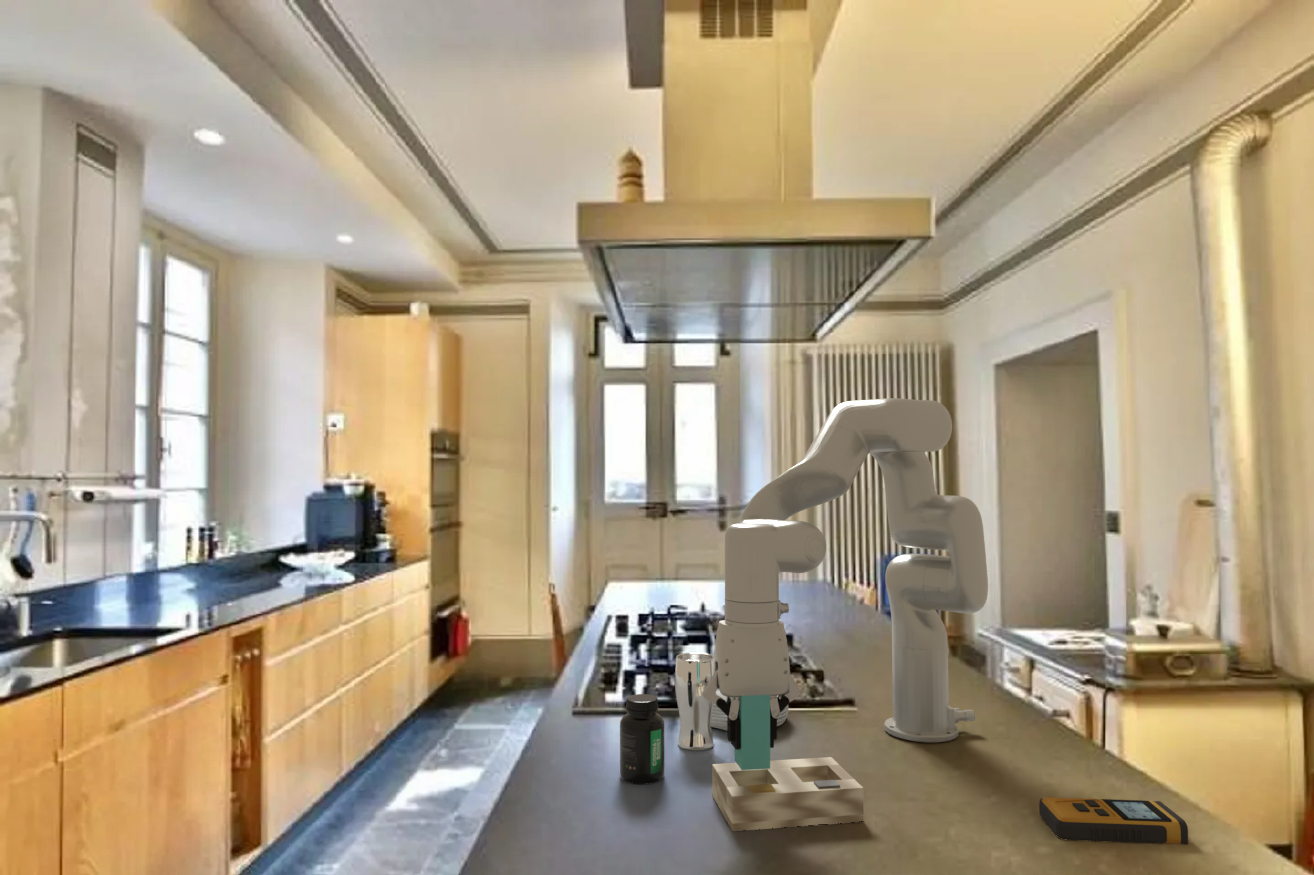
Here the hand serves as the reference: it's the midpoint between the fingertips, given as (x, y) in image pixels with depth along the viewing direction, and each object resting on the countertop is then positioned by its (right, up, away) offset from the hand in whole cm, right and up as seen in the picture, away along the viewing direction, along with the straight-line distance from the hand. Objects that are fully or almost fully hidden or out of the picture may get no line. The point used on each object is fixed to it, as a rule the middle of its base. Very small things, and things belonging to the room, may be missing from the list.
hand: (752, 744), depth 115 cm
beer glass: (-6, -10, +27) cm, 30 cm away
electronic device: (+46, -9, -7) cm, 47 cm away
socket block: (+5, -9, +1) cm, 10 cm away
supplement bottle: (-15, -10, +13) cm, 22 cm away
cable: (+3, -11, +41) cm, 43 cm away
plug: (0, -3, 0) cm, 3 cm away
